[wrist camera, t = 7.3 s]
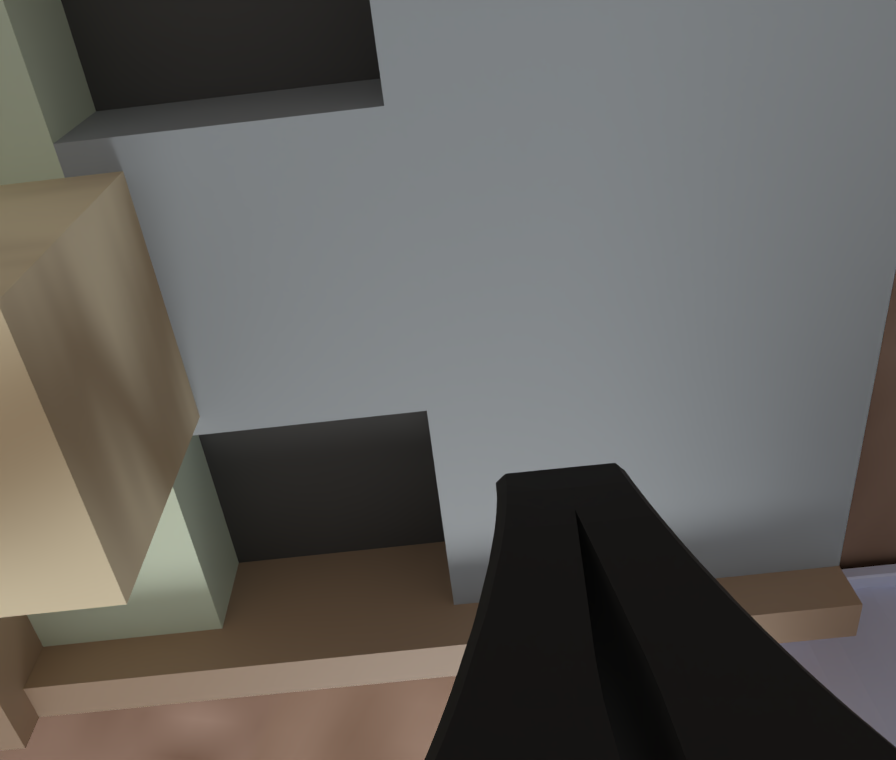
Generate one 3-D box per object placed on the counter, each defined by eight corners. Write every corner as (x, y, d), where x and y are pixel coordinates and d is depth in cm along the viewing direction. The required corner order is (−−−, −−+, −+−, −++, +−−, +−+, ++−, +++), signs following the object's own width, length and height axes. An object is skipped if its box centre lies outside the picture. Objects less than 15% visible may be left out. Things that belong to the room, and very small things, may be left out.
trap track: (792, 526, 22) (872, 664, 18) (47, 603, 23) (-28, 753, 19) (937, -458, 12) (1177, -610, 8) (-394, -288, 13) (-746, -359, 9)
